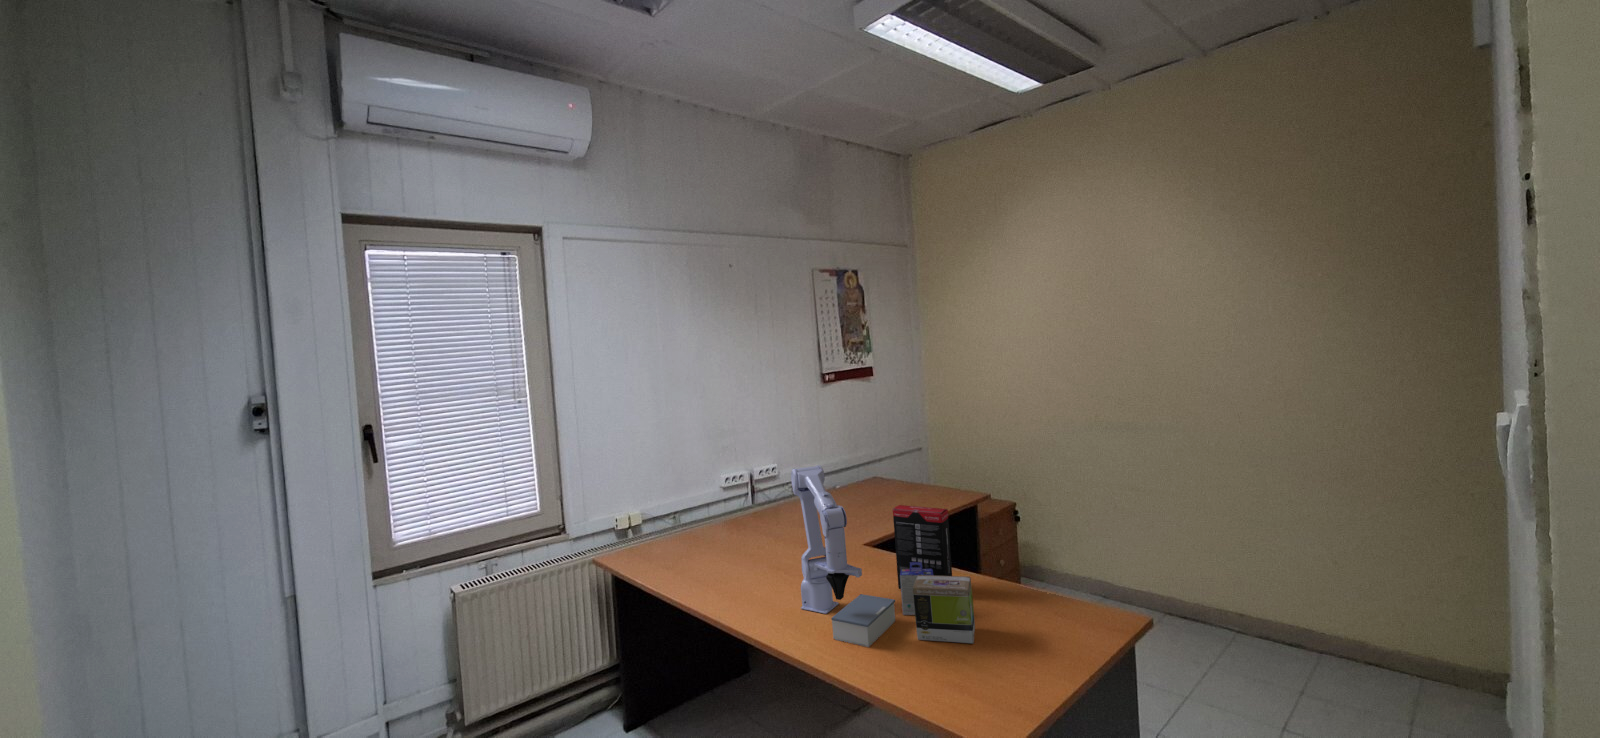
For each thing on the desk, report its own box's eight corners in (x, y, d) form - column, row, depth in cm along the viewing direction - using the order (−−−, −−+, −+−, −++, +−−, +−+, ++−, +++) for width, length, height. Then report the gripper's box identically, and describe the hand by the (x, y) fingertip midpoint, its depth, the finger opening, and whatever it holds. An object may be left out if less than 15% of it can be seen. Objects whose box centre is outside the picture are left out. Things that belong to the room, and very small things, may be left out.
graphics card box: (955, 590, 193) (948, 506, 193) (948, 598, 187) (941, 512, 187) (905, 583, 202) (899, 503, 202) (897, 591, 197) (890, 508, 196)
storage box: (833, 639, 168) (831, 619, 167) (862, 614, 182) (860, 596, 181) (868, 647, 161) (866, 627, 161) (895, 620, 176) (893, 602, 175)
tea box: (975, 627, 168) (971, 575, 167) (973, 645, 158) (969, 590, 158) (921, 623, 173) (917, 573, 172) (916, 640, 163) (912, 587, 163)
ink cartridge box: (936, 607, 182) (932, 560, 182) (936, 615, 177) (932, 567, 176) (903, 607, 184) (899, 560, 184) (902, 615, 179) (898, 567, 178)
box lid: (831, 620, 167) (831, 616, 167) (860, 596, 182) (860, 593, 182) (867, 627, 161) (867, 623, 161) (895, 601, 175) (895, 598, 175)
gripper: (806, 552, 170) (810, 599, 170) (851, 558, 162) (855, 608, 162) (819, 544, 176) (823, 590, 176) (863, 550, 168) (867, 598, 168)
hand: (839, 598), depth 170 cm, fingers closed
